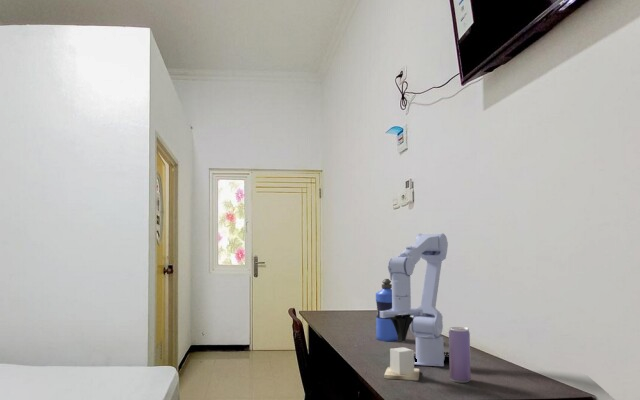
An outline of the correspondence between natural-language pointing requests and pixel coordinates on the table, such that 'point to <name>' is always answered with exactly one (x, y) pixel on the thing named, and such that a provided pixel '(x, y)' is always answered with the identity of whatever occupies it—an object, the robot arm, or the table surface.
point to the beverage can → (459, 354)
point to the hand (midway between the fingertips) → (401, 340)
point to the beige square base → (402, 375)
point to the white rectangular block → (402, 360)
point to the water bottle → (384, 302)
